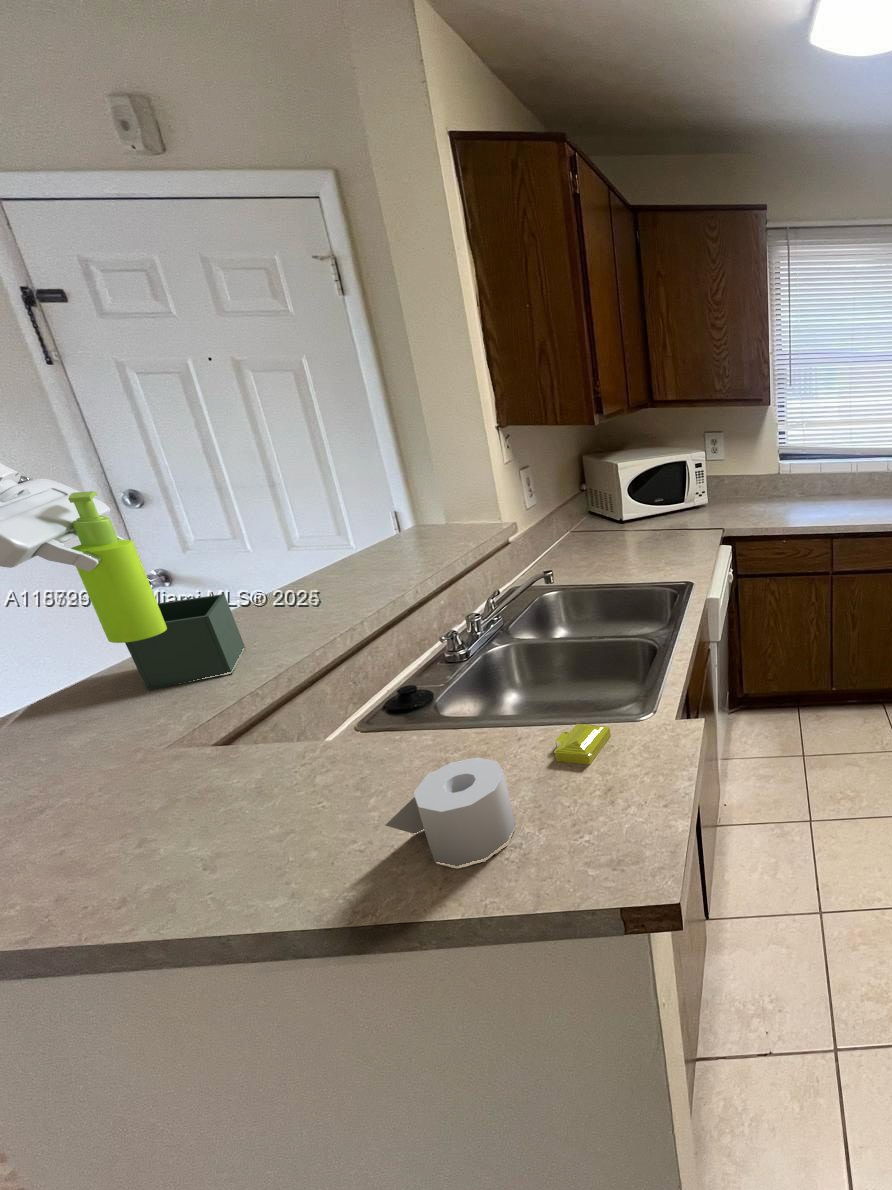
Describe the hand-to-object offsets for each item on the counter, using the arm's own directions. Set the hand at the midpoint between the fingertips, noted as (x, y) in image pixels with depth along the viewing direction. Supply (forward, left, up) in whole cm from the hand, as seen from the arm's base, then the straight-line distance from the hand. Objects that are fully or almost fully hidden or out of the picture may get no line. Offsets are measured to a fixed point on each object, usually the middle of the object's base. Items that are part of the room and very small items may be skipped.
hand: (111, 557), depth 82 cm
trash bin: (-4, +25, -29) cm, 38 cm away
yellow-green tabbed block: (+51, -33, -29) cm, 67 cm away
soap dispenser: (-1, 0, -12) cm, 12 cm away
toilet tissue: (+35, -44, -29) cm, 63 cm away
